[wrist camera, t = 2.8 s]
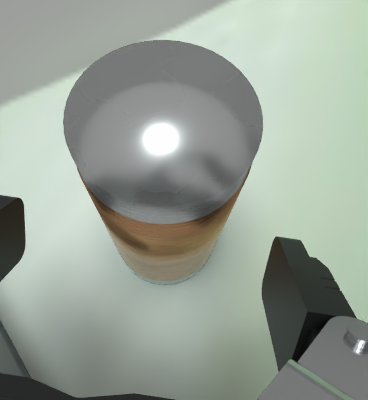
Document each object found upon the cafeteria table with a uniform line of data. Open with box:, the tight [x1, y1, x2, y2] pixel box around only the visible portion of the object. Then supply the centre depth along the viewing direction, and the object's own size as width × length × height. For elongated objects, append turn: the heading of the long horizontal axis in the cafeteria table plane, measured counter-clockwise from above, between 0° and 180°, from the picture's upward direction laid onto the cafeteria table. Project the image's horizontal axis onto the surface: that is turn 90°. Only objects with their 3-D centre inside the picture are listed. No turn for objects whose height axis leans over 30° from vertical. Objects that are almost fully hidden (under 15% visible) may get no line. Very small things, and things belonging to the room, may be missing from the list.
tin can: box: [63, 40, 263, 285], centre depth 17 cm, size 6×6×13 cm
